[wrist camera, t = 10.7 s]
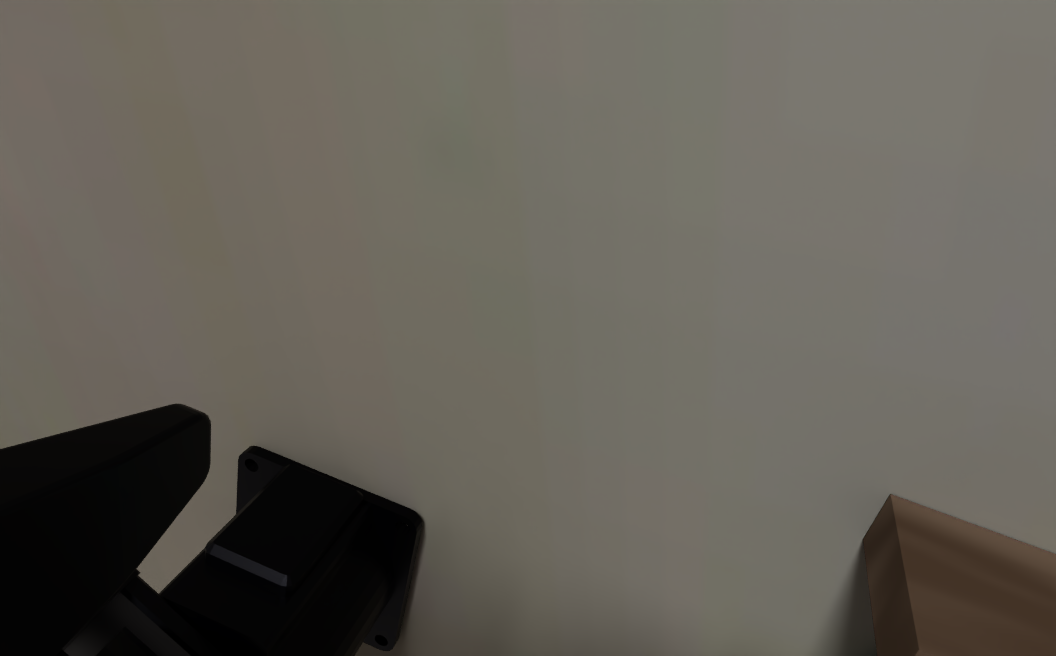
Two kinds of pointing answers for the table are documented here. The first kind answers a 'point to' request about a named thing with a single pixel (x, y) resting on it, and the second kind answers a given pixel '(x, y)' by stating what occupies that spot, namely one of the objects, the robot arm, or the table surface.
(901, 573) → the brown wooden plank
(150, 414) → the robot arm
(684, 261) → the table surface
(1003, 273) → the table surface
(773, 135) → the table surface
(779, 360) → the table surface
